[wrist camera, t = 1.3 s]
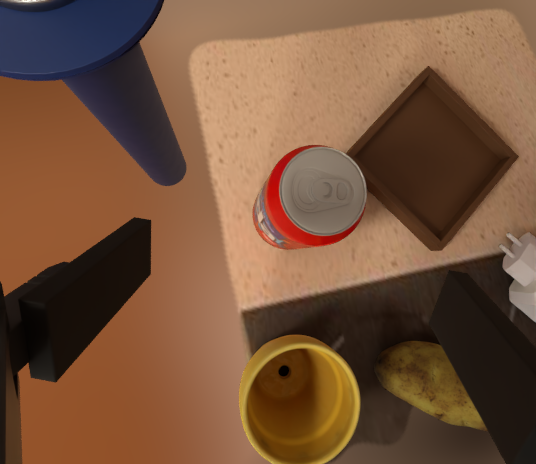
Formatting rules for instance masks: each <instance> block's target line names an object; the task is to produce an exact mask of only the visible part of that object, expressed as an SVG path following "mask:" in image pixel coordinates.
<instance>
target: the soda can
mask: <svg viewBox="0 0 536 464" xmlns="http://www.w3.org/2000/svg"><path fill="white" fill-rule="evenodd" d="M366 198H367V188H366V182H365V179H364V176H363V174H362V172H361V170H360V168H359V167H358V165H357V164H356V163H355V162H354V160H353V159H351V158H350V157H349V156H348V155H346V154H345V153H343V152H341V151H339V150H337V149H334V148H331V147H327V146H322V145H309V146H303V147H300V148H297V149H295V150H293V151H291V152H289V153H288V154H286V155H285V156H284V157H283V158H282V159H281V160H280V161H279V162H278V163H277V164H276V166H275V167H274V169H273V170H272V172H271V174H270V175H269V177H268V179H267V180H266V182H265V184H264V186H263V187H262V189H261V191H260V192H259V194H258V196H257V198H256V200H255V203H254V206H253V222H254V225H255V228H256V230H257V232H258V233H259V235H260V236H261V237H262V239H263V240H265V241H266V242H267V243H268V244H270V245H272V246H274V247H276V248H280V249H287V250H290V249H300V248H310V247H319V246H326V245H330V244H334V243H336V242H338V241H340V240H342V239H344V238H345V237H347V236H348V235H349V234H350V233H351V232H352V231H353V230H354V229H355V228H356V227H357V225H358V224H359V222H360V220H361V218H362V216H363V214H364V210H365V206H366Z"/></svg>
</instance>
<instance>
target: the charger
mask: <svg viewBox="0 0 536 464" xmlns="http://www.w3.org/2000/svg"><path fill="white" fill-rule="evenodd" d="M506 236H507V237H508V238H510V239H511V240H512V241H513V242H514V243H513V245H512V246H511V248H510V249H508V248H506V247H505V246H504V245H503V244H500V245H499V248H500V249H502V250H503V251H504V252H505V253H506V255H505V257H504V259H503V266H502V267H503V269H504V270H505V271H506V272H507V273H508V274H510V275H511V276H512V277H513V278H514V281H513V282H512V284H511V286H510V288H509V299H510V302H512V303H513V304H514V305H515V306H516V307H518V308H519V309H520V310H521V311H523V312H524V313H525V314H526V315H527V316H529V317H530V318H531V319H532V320H533V321H535V322H536V238H535V237H534V236H533V235H532V234H531V233H530V232H528V233H526V234H524V235H523V236H521V237H520V238H519V239H517V238H516V237H514V236H513V235H512V234H511V233H507V234H506Z"/></svg>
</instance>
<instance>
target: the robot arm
mask: <svg viewBox="0 0 536 464" xmlns="http://www.w3.org/2000/svg"><path fill="white" fill-rule="evenodd" d="M74 1H75V0H0V6H3V7H5V8H9V9H12V10H17V11H25V12H43V11H49V10H54V9H58V8H61V7H63V6H66V5H68V4H70V3H72V2H74ZM150 274H151V220H147V219H141V218H135V217H134V218H133V219H131V220H130V221H129V222H127V223H126V224H124V225H123V226H121V227H120V228H119V229H117V230H116V231H114V232H113V233H111V234H110V235H108V236H107V237H106V238H105V239H103V240H101V241H100V242H98V243H97V244H96V245H94V246H93V247H92V248H90V249H89V250H87V251H86V252H84V253H83V254H81V255H80V256H79V257H77V258H76V259H74V260H73V261H71V262H70V263H68V262H62V263H59V264H56V265H54V266H51V267H48V268H47V269H45V270H44V271H42V272H41V273H39V274H38V275H37V277H36V276H35V277H33V278H32V279H30V280H29V281H28V282H27V283H24V284H23V285H21V286H20V287H18V288H17V289H15V290H14V291H12V292H11V293H9V294H8V295H6V296H4V294H3V289H2V284H1V282H0V464H22V442H21V414H20V386H19V376H18V372H19V371H20V370H21V369H22V368H23V367H24V366H25V365H26V364H27V363H29V369H30V374H31V378H35V379H41V380H46V381H51V382H57V380H58V379H59V378H60V377H61V376H62V375H63V374H64V373H65V371H66V370H67V369H68V368H69V367H70V366H71V365H72V363H73V362H74V361H75V360H76V359H77V358H78V357H79V355H80V354H81V353H82V352H83V351H84V350H85V348H86V347H87V346H88V345H89V344H90V343H91V342H92V341H93V339H94V338H95V337H96V336H97V335H98V334H99V332H100V331H101V330H102V329H103V328H104V327H105V326H106V324H107V323H108V322H109V321H110V320H111V319H112V318H113V317H114V315H115V314H116V313H117V312H118V311H119V310H120V309H121V307H122V306H123V305H124V304H125V303H126V302H127V301H128V299H129V298H130V297H131V296H132V295H133V294H134V293H135V291H136V290H137V289H138V288H139V287H140V286H141V285H142V283H143V282H144V281H145V280H146V278H148V276H149V275H150ZM429 324H430V326H431V328H432V330H433V332H434V333H435V335H436V337H437V339H438V341H439V343H440V344H441V346H442V348H443V350H444V352H445V353H446V355H447V357H448V359H449V361H450V363H451V364H452V366H453V368H454V370H455V372H456V374H457V375H458V377H459V379H460V381H461V383H462V384H463V386H464V388H465V390H466V392H467V394H468V395H469V397H470V399H471V401H472V403H473V404H474V406H475V408H476V410H477V412H478V414H479V415H480V417H481V419H482V421H483V423H484V425H485V426H486V428H487V430H488V432H489V433H490V435H491V437H492V439H493V441H494V442H495V444H496V446H497V448H498V450H499V452H500V454H501V455H502V457H503V459H504V461H505V463H506V464H536V344H534V343H531V342H530V341H529V340H528V339H527V338H526V337H525V336H524V335H523V333H522V332H521V331H520V330H519V329H518V328H517V327H516V326H515V325H514V324H513V323H512V322H511V320H510V319H509V318H508V317H507V316H506V315H505V314H504V313H503V312H502V311H501V310H500V309H499V307H498V306H497V305H496V304H495V303H494V302H493V301H492V300H491V299H490V298H489V297H488V296H487V294H486V293H485V292H484V291H483V290H482V289H481V288H480V287H479V286H478V285H477V284H476V282H475V281H474V280H473V279H472V278H471V277H470V276H469V275H468V274H467V273H462V272H456V271H450V270H449V272H448V274H447V277H446V280H445V282H444V285H443V287H442V290H441V293H440V295H439V298H438V300H437V303H436V305H435V308H434V311H433V313H432V316H431V318H430V321H429Z"/></svg>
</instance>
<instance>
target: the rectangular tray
mask: <svg viewBox="0 0 536 464" xmlns="http://www.w3.org/2000/svg"><path fill="white" fill-rule="evenodd" d="M346 155H348V156H349V157H350V158H351V159H353V160H354V162H355V163H356V164H357V165H358V167H359V168H360V170H361V172H362V174H363V176H364V179H365V182H366V188H367V189H368V190H369V191H370V192H371V193H372V194H373V195H374V196H375V197H376V198H377V199H378V200H379V201H380V202H381V203H382V204H383V205H384V206H385V207H386V208H387V209H388V210H389V211H390V212H392V213H393V214H394V215H395V216H396V217H397V218H398V219H399V220H400V221H401V222H402V223H403V224H404V225H405V226H406V227H407V228H408V229H409V230H410V231H411V232H412V233H413V234H414V235H415V236H416V237H417V238H418V239H419V240H420V241H421V242H422V243H423V244H424V245H426V246H427V247H428V248H429V249H430V250H431V251H440V250H443V248H444V247H445V246H446V245H447V243H448V242H449V241H450V240H451V239H452V237H453V236H454V235H455V234H456V233H457V231H458V230H459V229H460V228H461V226H462V225H463V224H464V223H465V222H466V220H467V219H468V218H469V217H470V215H471V214H472V213H473V212H474V211H475V209H476V208H477V207H478V206H479V205H480V203H481V202H482V201H483V200H484V198H485V197H486V196H487V195H488V194H489V192H490V191H491V190H492V189H493V187H494V186H495V185H496V184H497V183H498V181H499V180H500V179H501V178H502V176H503V175H504V174H505V173H506V172H507V170H508V169H509V168H510V167H511V166H512V164H513V163H514V162H515V161H516V159H517V158H518V157H519V156H518V155H517V154H516V153H515V152H514V151H513V150H512V149H511V148H510V147H509V146H508V145H507V144H506V143H505V142H504V141H503V140H502V139H501V138H500V137H499V136H498V135H497V134H496V133H495V132H494V131H493V130H492V129H491V128H490V127H489V126H488V125H487V124H486V123H485V122H484V121H483V120H482V119H481V118H480V117H479V116H478V115H477V114H476V113H475V112H474V111H473V110H472V109H471V108H470V107H469V106H468V105H467V104H466V103H465V102H464V101H463V100H462V99H461V98H460V97H459V96H458V95H457V94H456V93H455V92H454V91H453V90H452V89H451V88H450V87H449V86H448V85H447V84H446V83H445V82H444V81H443V80H442V79H441V78H440V77H439V76H438V75H437V74H436V73H435V72H434V71H433V70H432V69H431V68H430V67H429V66H428V67H427V68H426V69H424V70H423V71H422V72H421V73H420V74H419V75H418V76H417V77H416V78H415V79H414V80H413V82H412V83H411V84H410V85H409V86H408V87H407V88H406V89H405V90H404V91H403V92H402V93H401V94H400V96H399V97H398V98H397V99H396V100H395V101H394V102H393V103H392V104H391V105H390V106H389V107H388V108H387V110H386V111H385V112H384V113H383V114H382V115H381V116H380V117H379V118H378V119H377V120H376V121H375V122H374V124H373V125H372V126H371V127H370V128H369V129H368V130H367V131H366V132H365V133H364V134H363V135H362V136H361V138H360V139H359V140H358V141H357V142H356V143H355V144H354V145H353V146H352V147H351V148H350V149H349V150H348V152H347V153H346Z"/></svg>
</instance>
